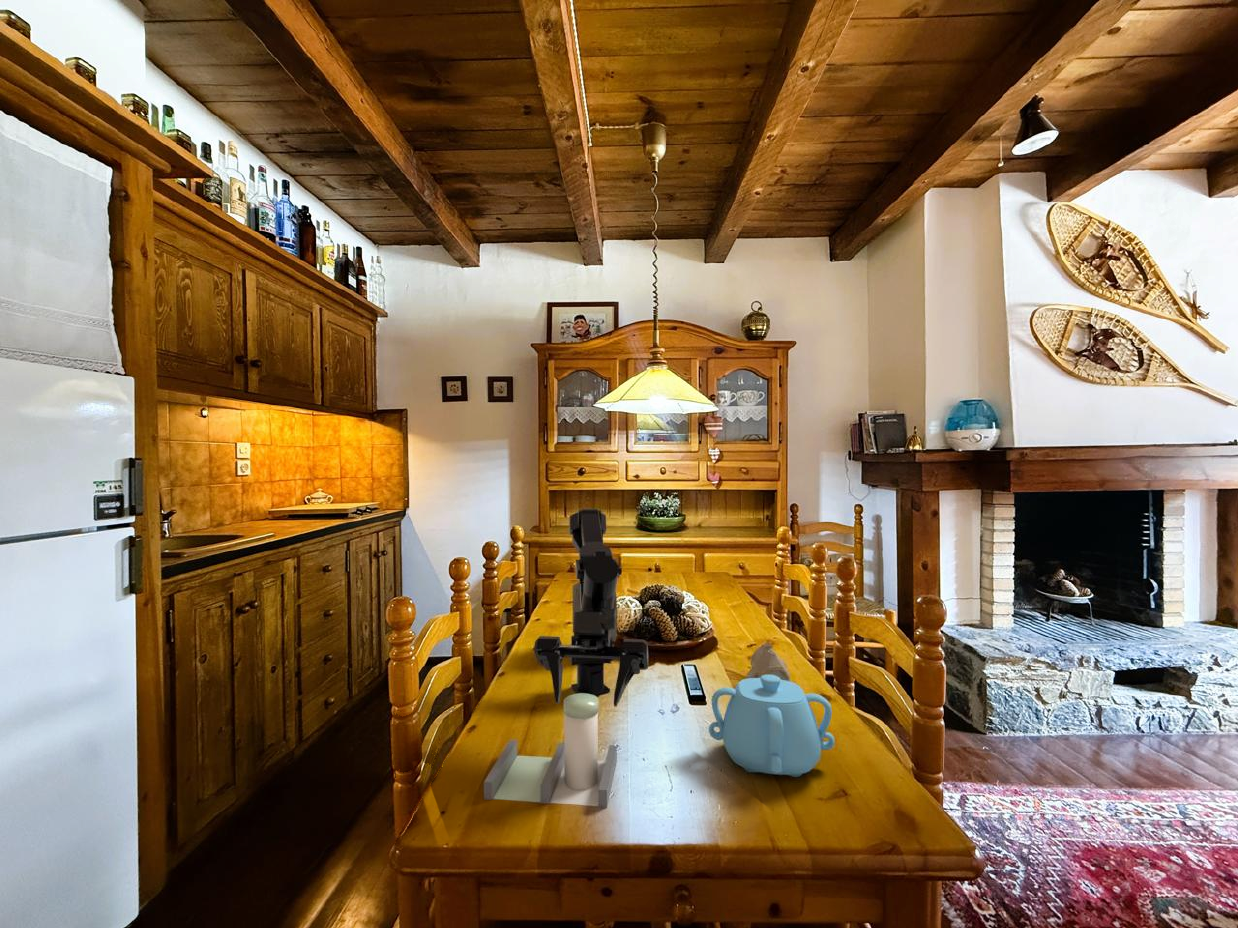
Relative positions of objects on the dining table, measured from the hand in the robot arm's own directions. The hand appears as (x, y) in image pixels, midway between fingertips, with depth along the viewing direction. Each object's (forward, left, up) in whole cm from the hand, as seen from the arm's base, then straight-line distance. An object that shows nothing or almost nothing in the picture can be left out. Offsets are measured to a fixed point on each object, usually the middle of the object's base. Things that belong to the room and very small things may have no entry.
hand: (585, 704), depth 87 cm
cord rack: (+1, -6, -11) cm, 12 cm away
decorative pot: (+11, +28, -11) cm, 32 cm away
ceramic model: (-11, +48, -11) cm, 51 cm away
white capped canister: (+3, -2, -10) cm, 11 cm away
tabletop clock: (-49, +25, -11) cm, 57 cm away
